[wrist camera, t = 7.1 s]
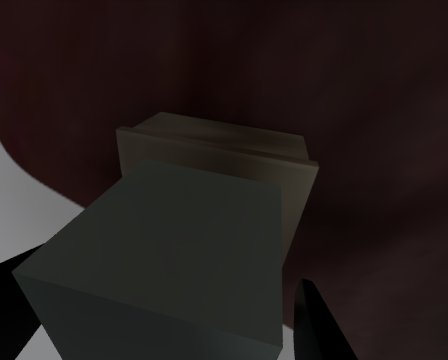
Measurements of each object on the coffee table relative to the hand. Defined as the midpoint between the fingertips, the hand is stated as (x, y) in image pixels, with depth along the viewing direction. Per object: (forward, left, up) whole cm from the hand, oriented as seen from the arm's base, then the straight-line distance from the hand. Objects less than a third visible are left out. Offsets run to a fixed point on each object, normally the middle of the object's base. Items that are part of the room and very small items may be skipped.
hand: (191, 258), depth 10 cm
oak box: (0, 0, -6) cm, 6 cm away
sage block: (0, 0, -2) cm, 2 cm away
